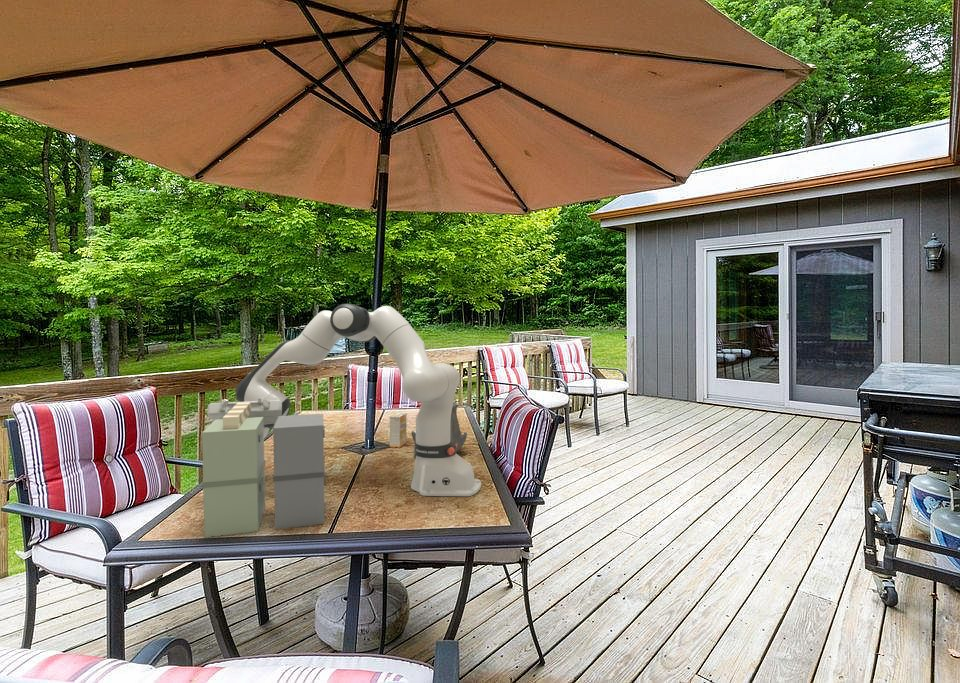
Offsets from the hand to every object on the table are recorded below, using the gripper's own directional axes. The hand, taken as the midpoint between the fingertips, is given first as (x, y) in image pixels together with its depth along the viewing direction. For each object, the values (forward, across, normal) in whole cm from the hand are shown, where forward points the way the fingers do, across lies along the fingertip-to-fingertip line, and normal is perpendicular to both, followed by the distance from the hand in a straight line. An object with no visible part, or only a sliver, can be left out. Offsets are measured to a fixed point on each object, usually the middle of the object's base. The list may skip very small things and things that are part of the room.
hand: (242, 401), depth 142 cm
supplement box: (-60, +52, 0) cm, 80 cm away
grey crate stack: (-3, +16, +33) cm, 36 cm away
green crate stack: (-3, 0, +33) cm, 33 cm away
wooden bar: (+5, 0, +7) cm, 9 cm away
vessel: (-47, +66, +8) cm, 81 cm away
